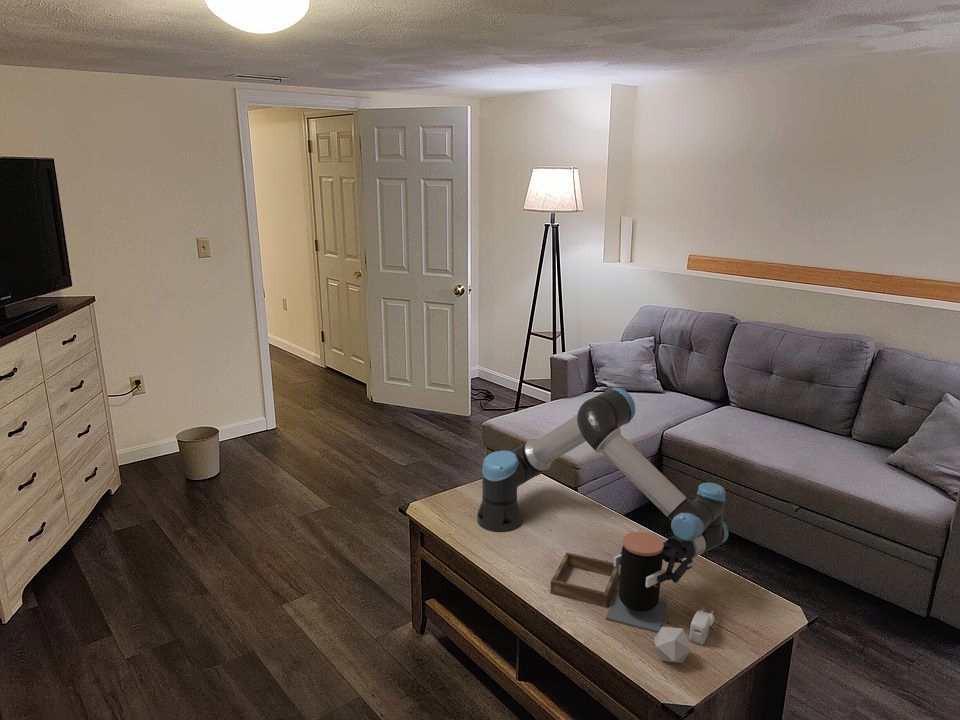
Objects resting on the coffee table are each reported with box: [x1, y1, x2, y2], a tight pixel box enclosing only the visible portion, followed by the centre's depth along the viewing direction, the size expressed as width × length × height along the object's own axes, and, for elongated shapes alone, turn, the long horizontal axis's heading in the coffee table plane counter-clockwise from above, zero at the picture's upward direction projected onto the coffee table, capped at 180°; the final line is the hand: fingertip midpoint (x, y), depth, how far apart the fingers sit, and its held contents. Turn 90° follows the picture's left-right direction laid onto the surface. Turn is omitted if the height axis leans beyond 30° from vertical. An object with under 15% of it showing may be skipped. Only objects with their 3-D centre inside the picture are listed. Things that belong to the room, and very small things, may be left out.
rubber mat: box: [605, 588, 668, 634], centre depth 185 cm, size 14×14×1 cm
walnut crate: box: [549, 552, 620, 608], centre depth 195 cm, size 16×16×4 cm
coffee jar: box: [618, 531, 664, 612], centre depth 181 cm, size 11×11×18 cm
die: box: [653, 626, 692, 664], centre depth 166 cm, size 8×9×10 cm
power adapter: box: [689, 606, 716, 646], centre depth 176 cm, size 11×5×6 cm, turn 148°
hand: (630, 572), depth 178 cm, fingers closed on coffee jar, 11 cm apart
